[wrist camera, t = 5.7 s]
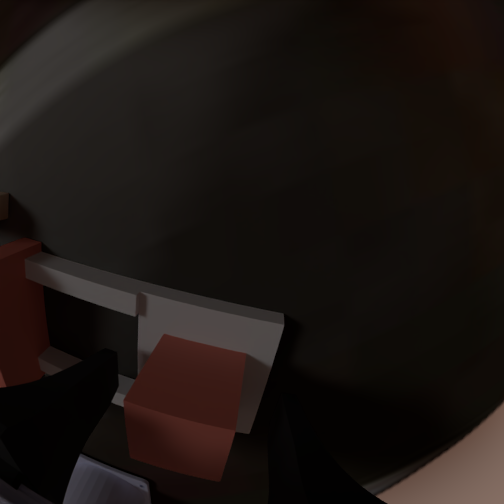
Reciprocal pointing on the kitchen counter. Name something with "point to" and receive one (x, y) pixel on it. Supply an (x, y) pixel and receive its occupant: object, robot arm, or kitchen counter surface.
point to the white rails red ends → (148, 356)
